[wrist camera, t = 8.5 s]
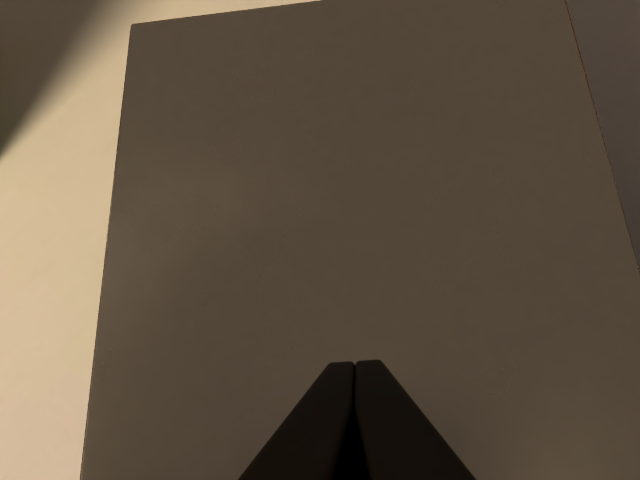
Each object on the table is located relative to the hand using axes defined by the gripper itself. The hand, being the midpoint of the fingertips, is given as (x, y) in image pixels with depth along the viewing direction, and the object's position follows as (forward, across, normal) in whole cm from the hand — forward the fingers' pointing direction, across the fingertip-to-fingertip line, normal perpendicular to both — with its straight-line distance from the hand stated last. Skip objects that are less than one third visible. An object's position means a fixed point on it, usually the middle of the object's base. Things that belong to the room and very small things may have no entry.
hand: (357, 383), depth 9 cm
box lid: (+5, 0, -1) cm, 5 cm away
